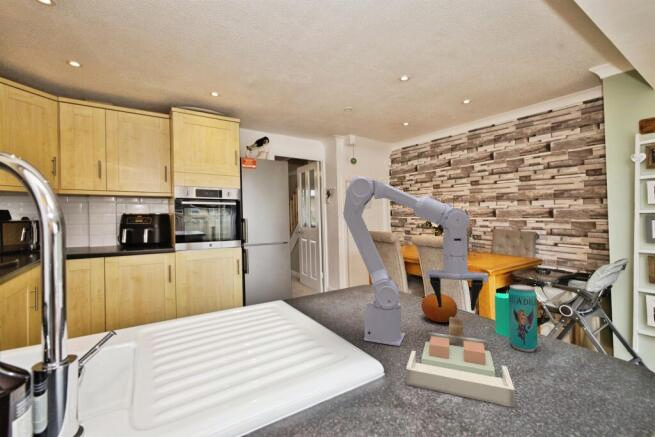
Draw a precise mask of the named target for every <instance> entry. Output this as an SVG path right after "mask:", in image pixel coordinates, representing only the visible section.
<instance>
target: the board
mask: <svg viewBox="0 0 655 437" xmlns="http://www.w3.org/2000/svg"><path fill="white" fill-rule="evenodd" d="M424 343H425V344H424V348H423V351H422V354H421V355H422V356H421V364H427V365H432V366H438V367H443V368H449V369H454V370H460V371H465V372H471V373H476V374H482V375H487V376H493V377H496V371H495V370H496V369H495V366H494V362H493V358H492V354H491V350H490V351H489V350H487V351H486V350H485V362H486V365H481V364H475V363H469V362H464V347H459V346H453V345H449V359H446V358H440V357H434V356H430V353H429V344H430V342H428V341H425V342H424Z"/></svg>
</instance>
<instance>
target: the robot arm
mask: <svg viewBox="0 0 655 437" xmlns="http://www.w3.org/2000/svg"><path fill="white" fill-rule="evenodd" d="M372 198H374V199H375V200H379V199H381V200H382V199H387V200H389V201H392V202H394V203H397V204H399V205H401V206H405V207H407V208H410V209H412V210H413V213H414V215H415V216H416V217H419V218H420V219H423V220H424V221H426V222H427V221H428V222H430V223H433V224H435V225H437V226H439V225H441V228H442V229H443V230H442V232H443V233H442V234H443V237H442V250H443V252H442V254H443V255H442V257H443V258H442V261H443V262H442V263H443V265H442V266H443V268H442V269H441V270H440V269H439V270H437V269H435V270H434V269H431V270H430V269H426V270H425V279H429V283H430V285H431V287H432V289H433V292H434V293H435V294H436V297H437V301H438V307H441V306H442V300H441V294H442V290H441V287H442V286H441V285H442V281H441V280H452V281H453V280H454V281H467V282H468V281H469V282H470V283H471V284H470V286H471V289H470V290H471V292H470V293H471V295H470V296H471V298H470V310H471V311H472V312H473V311H475V310H476V309H475V307H476V303H477V300H478V297H479V295H480V293H481V291H482V290H483V287H484V283H489V280H488V279H489V278H488V277H489V275H488V273H486V272H475V271H468V270H469V269H468V268H469V267H468V266H469V265H468V236H467V229H468V228H469V226H470V224H471V219H470V217H469V215H468V213H467V212H466V211H464V210H463V209H461V208H460V209H459V208H453V204H452V203H451V204H450V203H447V204H446V203H444V202H441V201H439V200H436V199H435V198H436V196H433V195H429V196H426V195H424V196H420V197H416V196H414V195H412V194H410V193H408V192H405V191H403V190H401V189H399V188H397V187H394V186H392V185H390V184H388V183H386V182H383V181H380V180H378V179H373V178H372V179H370V178H368V177H367V176H362V175H360V176H356V177H354V178H353V179H352V180H351V181H350V183H349V185H348V186H347V189H346V191H345V198H344V200H345V201H344V204H343V205H344V206H343V212H342V213H343V214H342V215H343V219H344V221H345V223H346V225H347V227H348V230H349V233H350V234H351V236H352V238H353V241H354V243H355V245H356V248H357V250H358V252H359V254H360V256H361V259H362V261H363V263H364V266H365V267H366V268H365V269H366V270H367V272H368V275H369V277H370V281H371V285H372V287H373V290H374V301H373V302H372V303H367V304H366V306H365V307H364V308H365V309H364V314H363V315H364V323H363V324H364V338H363V341H367V342H372V343H378V344H384V345H391V346H396V347H400V346H401V344H402V343H403V340H404V337H405V336H406V335H405V332H402V311H401V308H402V304H401V302H400V298H401V295H400V292H399V287H398V283H397V281H396V280H395V279H393V278H392V277H391V276H390V274H389V272H388V271H387V268H386V267H385V265H384V262H383V260H382V258H381V255H380V253H379V251H378V249H377V246H376V245H375V242H374V240H373V237H372V236H371V233H370V231H369V229H368V227H367V225H366V222H365V220H364V218H363V214H364V211H365V208H366V206H367V204H368V203H369V202H370V201H371V200H372Z"/></svg>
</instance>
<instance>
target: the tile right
mask: <svg viewBox="0 0 655 437" xmlns="http://www.w3.org/2000/svg"><path fill="white" fill-rule="evenodd" d="M463 342H464V362H469V363H475V364H481V365H486V362H485V349H484V345H483V343H476V342H469V341H463Z"/></svg>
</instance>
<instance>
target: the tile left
mask: <svg viewBox="0 0 655 437" xmlns="http://www.w3.org/2000/svg"><path fill="white" fill-rule="evenodd" d="M429 353H430V356H434V357H440V358H446V359H449V339H448V338H441V337H434V336H431V339H430V344H429Z"/></svg>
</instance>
